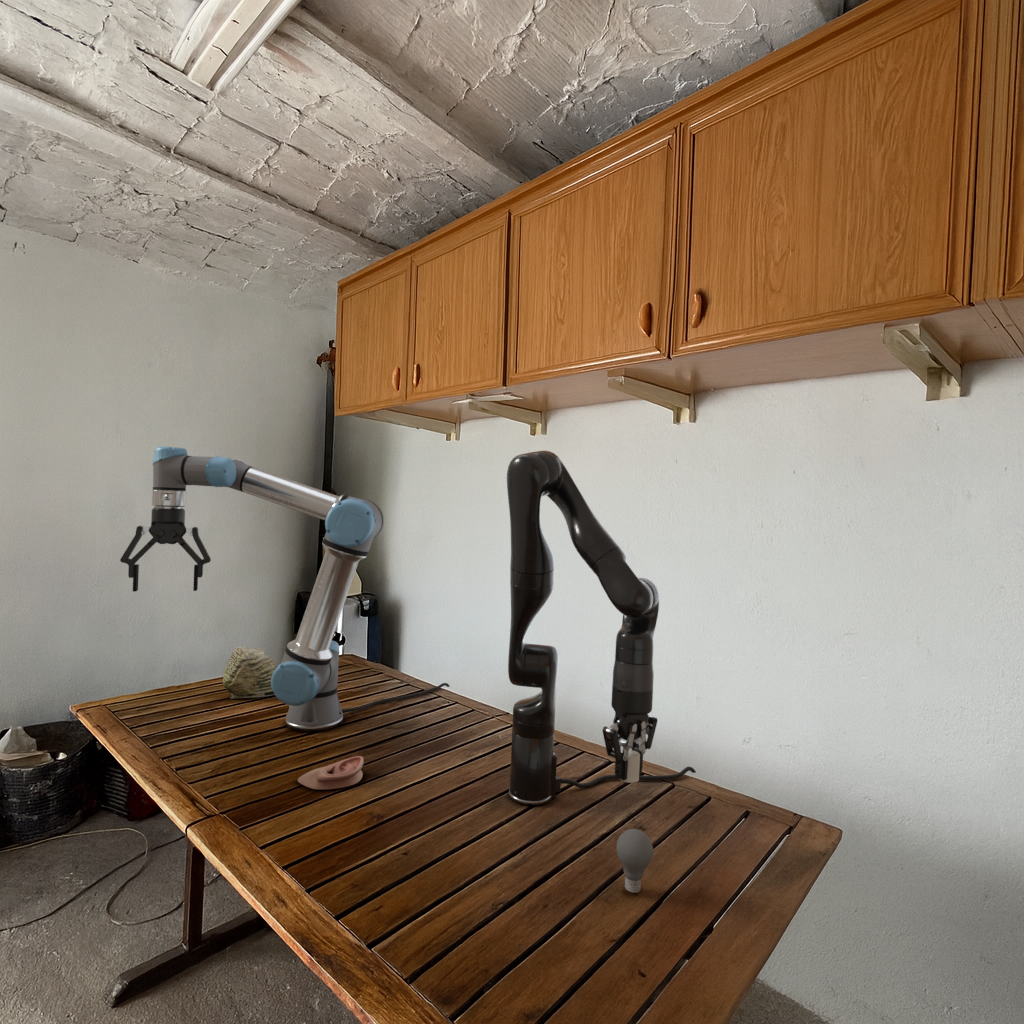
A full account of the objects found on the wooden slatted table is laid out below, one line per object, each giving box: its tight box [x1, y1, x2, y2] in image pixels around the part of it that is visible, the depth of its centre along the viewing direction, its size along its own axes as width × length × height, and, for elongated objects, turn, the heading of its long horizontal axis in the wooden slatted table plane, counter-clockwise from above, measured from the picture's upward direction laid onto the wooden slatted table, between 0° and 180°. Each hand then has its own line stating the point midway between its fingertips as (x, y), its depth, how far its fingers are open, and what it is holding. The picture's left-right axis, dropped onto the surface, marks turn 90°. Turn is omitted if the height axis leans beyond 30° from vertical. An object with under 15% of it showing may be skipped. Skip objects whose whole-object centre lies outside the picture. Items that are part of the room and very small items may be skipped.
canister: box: [620, 749, 640, 784], centre depth 119 cm, size 4×4×5 cm
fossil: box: [222, 646, 277, 699], centre depth 198 cm, size 9×18×15 cm, turn 132°
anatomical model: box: [297, 755, 364, 791], centre depth 142 cm, size 13×4×12 cm
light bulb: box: [615, 828, 654, 894], centre depth 106 cm, size 6×6×10 cm
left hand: (165, 590), depth 162 cm, fingers open, 13 cm apart
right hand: (628, 775), depth 119 cm, fingers closed on canister, 3 cm apart
